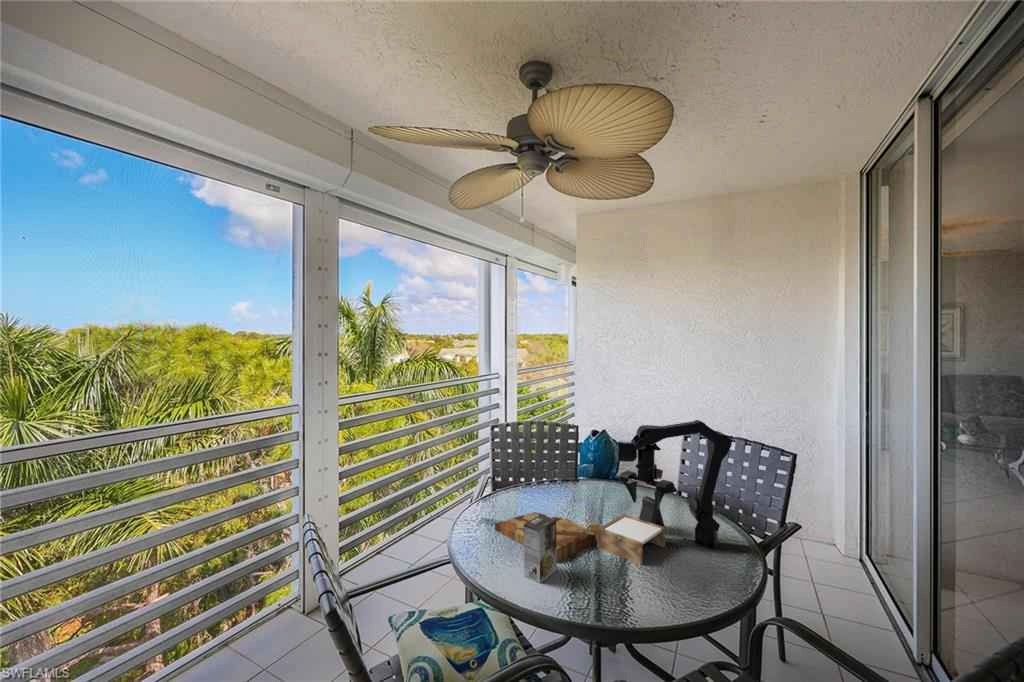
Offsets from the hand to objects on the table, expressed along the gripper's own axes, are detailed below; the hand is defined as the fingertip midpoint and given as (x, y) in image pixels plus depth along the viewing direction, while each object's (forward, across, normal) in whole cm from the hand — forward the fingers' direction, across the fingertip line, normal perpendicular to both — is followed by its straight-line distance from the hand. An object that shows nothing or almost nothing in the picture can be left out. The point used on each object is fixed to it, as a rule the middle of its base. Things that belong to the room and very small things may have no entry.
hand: (645, 505), depth 155 cm
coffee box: (+13, +12, +43) cm, 46 cm away
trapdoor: (+9, +1, +8) cm, 12 cm away
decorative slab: (+14, +28, +23) cm, 39 cm away
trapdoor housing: (+13, 0, +8) cm, 15 cm away
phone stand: (+13, +3, -9) cm, 16 cm away
